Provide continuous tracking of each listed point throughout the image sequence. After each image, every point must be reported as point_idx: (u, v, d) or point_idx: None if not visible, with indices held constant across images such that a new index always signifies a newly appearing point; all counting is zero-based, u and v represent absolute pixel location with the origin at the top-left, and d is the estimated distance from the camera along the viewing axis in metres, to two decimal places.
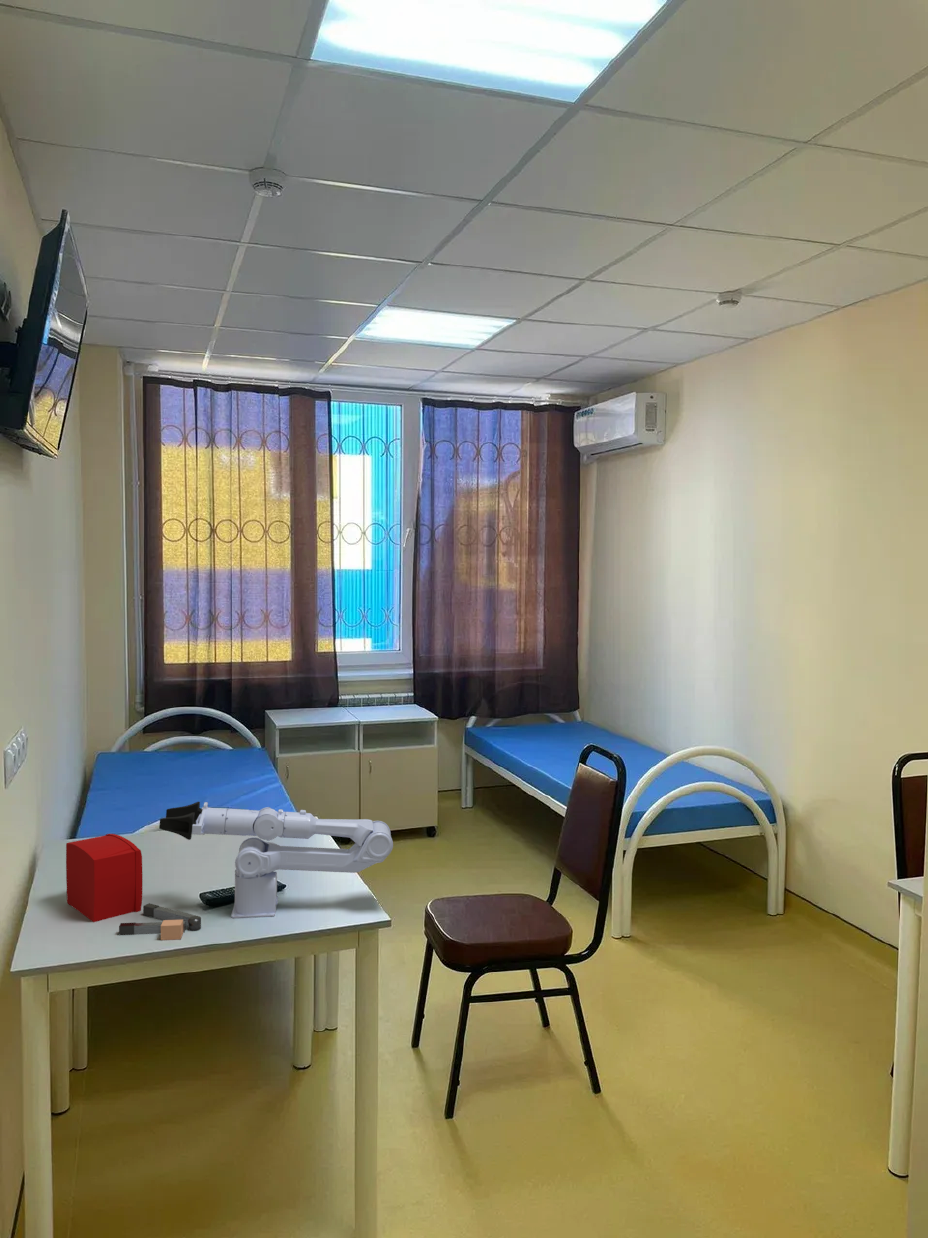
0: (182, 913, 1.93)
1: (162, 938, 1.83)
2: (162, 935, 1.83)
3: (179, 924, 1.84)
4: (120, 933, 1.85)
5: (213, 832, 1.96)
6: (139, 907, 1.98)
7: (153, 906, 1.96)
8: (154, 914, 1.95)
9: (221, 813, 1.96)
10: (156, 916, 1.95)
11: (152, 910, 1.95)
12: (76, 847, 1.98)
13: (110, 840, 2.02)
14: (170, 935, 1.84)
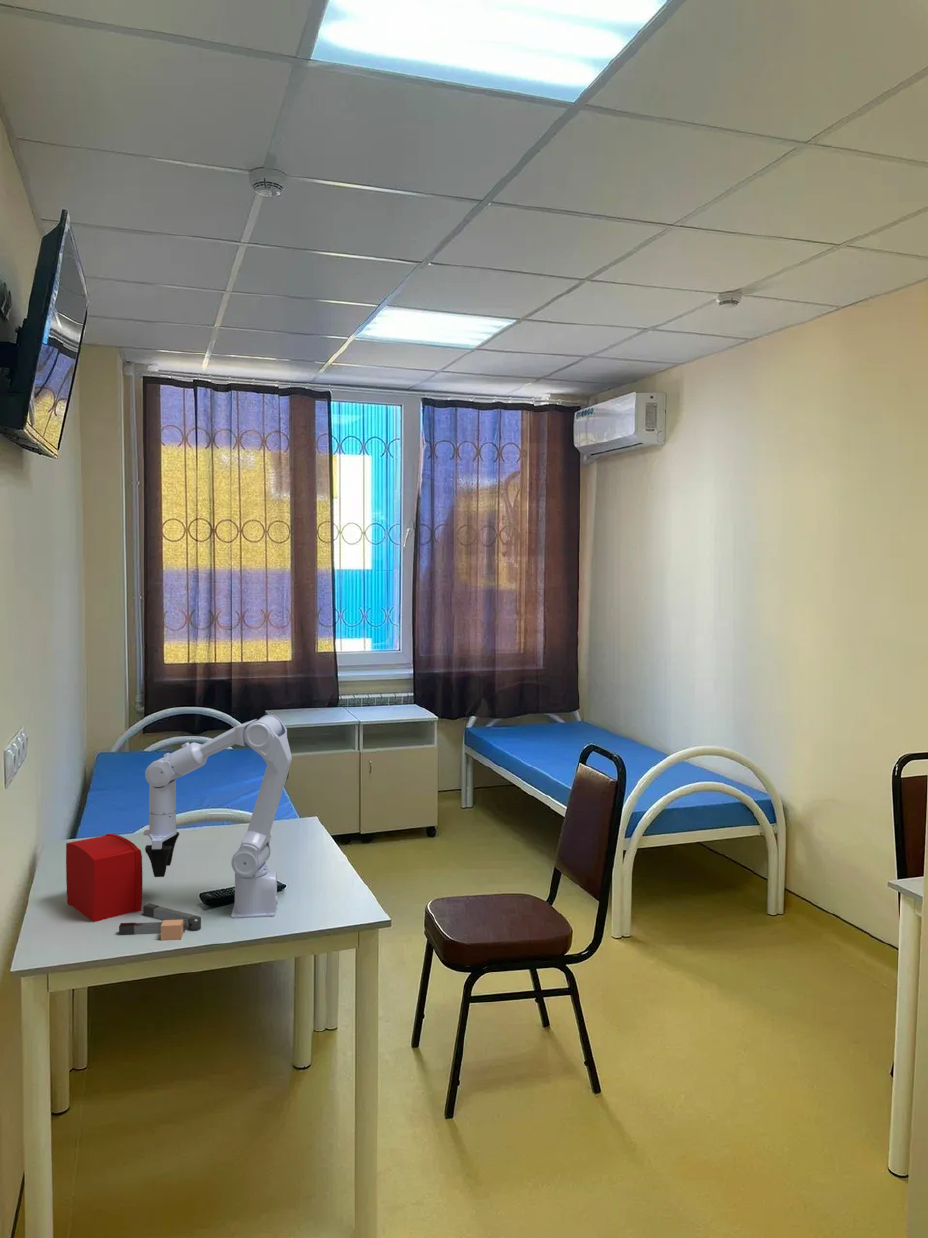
0: (182, 913, 1.93)
1: (162, 938, 1.83)
2: (162, 935, 1.83)
3: (179, 924, 1.84)
4: (120, 933, 1.85)
5: (169, 824, 1.99)
6: (139, 907, 1.98)
7: (153, 906, 1.96)
8: (154, 914, 1.95)
9: (150, 818, 1.98)
10: (156, 916, 1.95)
11: (152, 910, 1.95)
12: (76, 847, 1.98)
13: (110, 840, 2.02)
14: (170, 935, 1.84)
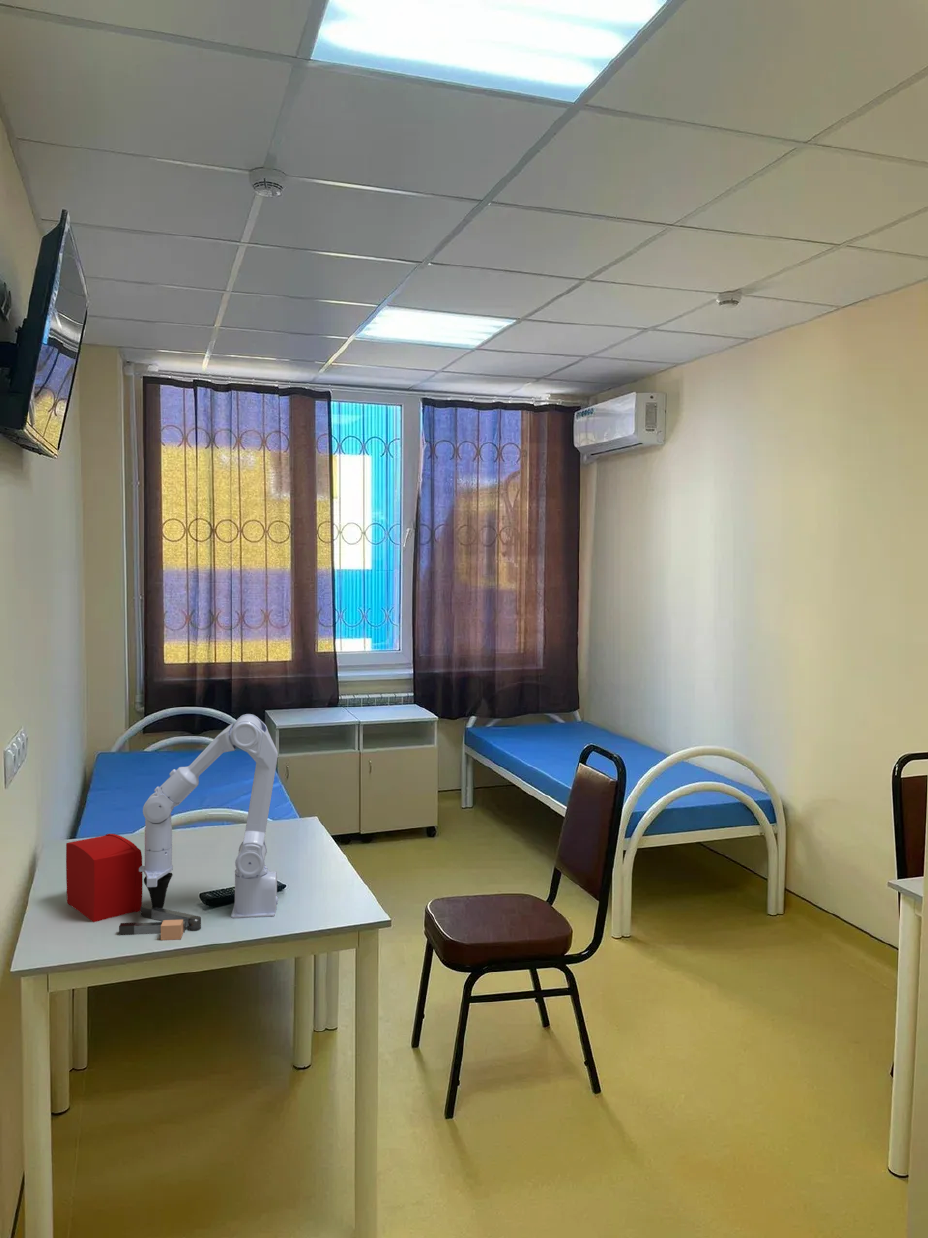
0: (181, 913, 1.92)
1: (162, 938, 1.83)
2: (162, 935, 1.83)
3: (179, 924, 1.84)
4: (120, 933, 1.85)
5: (165, 860, 1.94)
6: (139, 907, 1.98)
7: (151, 907, 1.96)
8: (152, 915, 1.94)
9: (145, 854, 1.94)
10: (154, 917, 1.94)
11: (149, 911, 1.95)
12: (76, 847, 1.98)
13: (110, 840, 2.02)
14: (170, 935, 1.84)
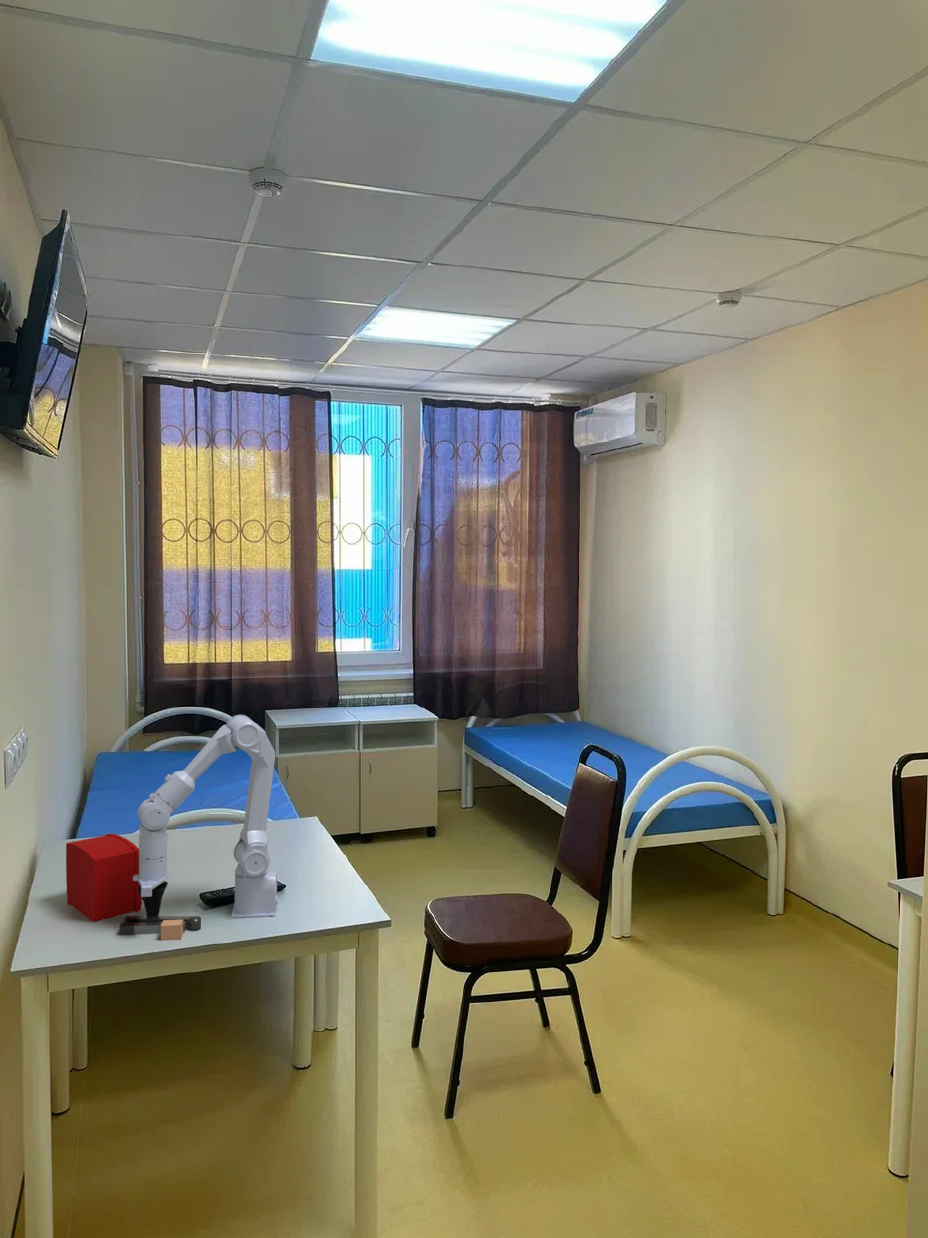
0: (174, 917, 1.90)
1: (162, 938, 1.83)
2: (162, 935, 1.83)
3: (179, 924, 1.84)
4: (120, 933, 1.85)
5: (160, 869, 1.89)
6: (139, 907, 1.98)
7: (134, 917, 1.90)
8: None
9: (140, 863, 1.88)
10: None
11: (135, 922, 1.89)
12: (76, 847, 1.98)
13: (110, 840, 2.02)
14: (170, 935, 1.84)
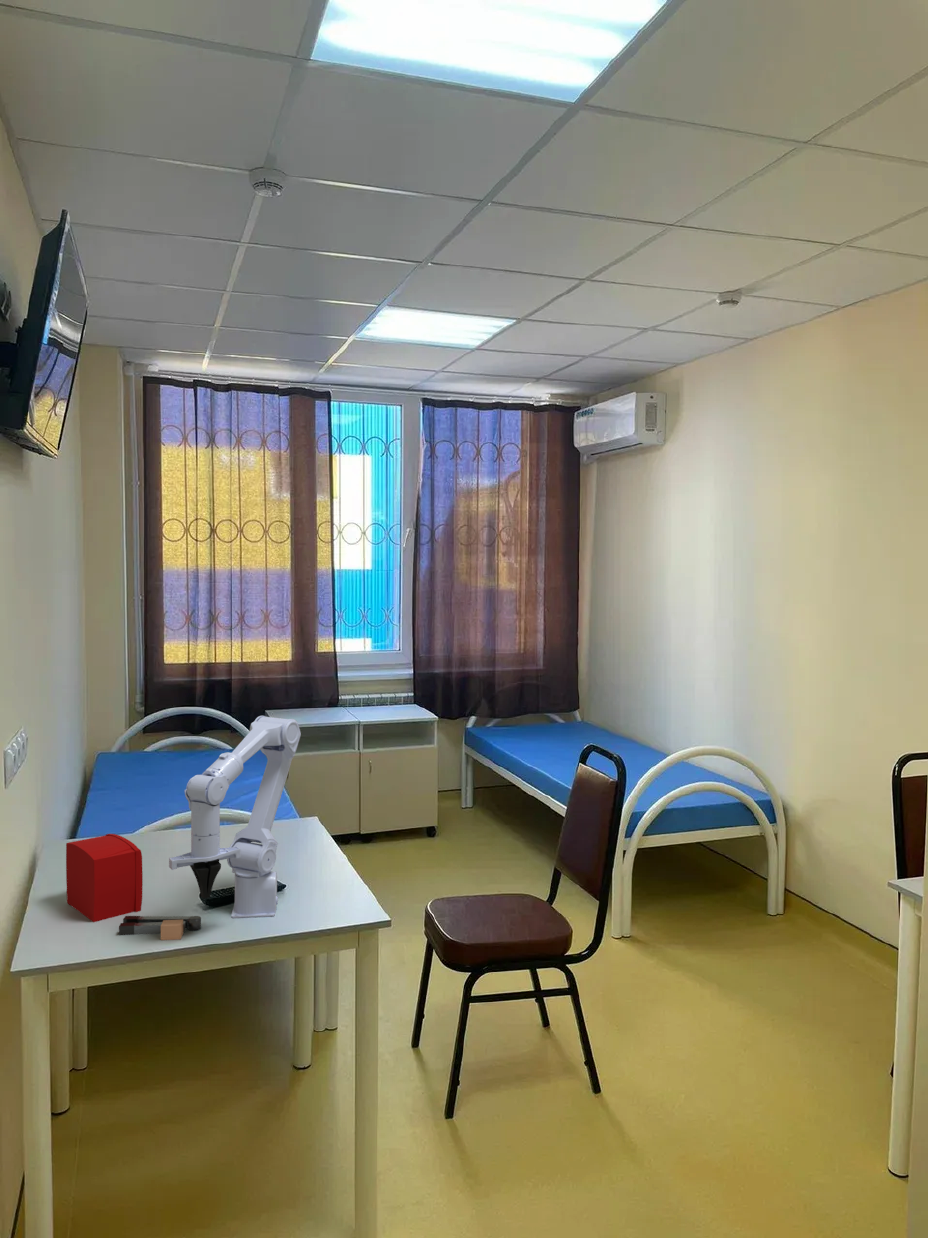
0: (174, 917, 1.90)
1: (162, 938, 1.83)
2: (162, 935, 1.83)
3: (179, 924, 1.84)
4: (120, 933, 1.85)
5: (198, 847, 1.83)
6: (139, 907, 1.98)
7: (134, 917, 1.90)
8: None
9: None
10: None
11: (135, 922, 1.89)
12: (76, 847, 1.98)
13: (110, 840, 2.02)
14: (170, 935, 1.84)
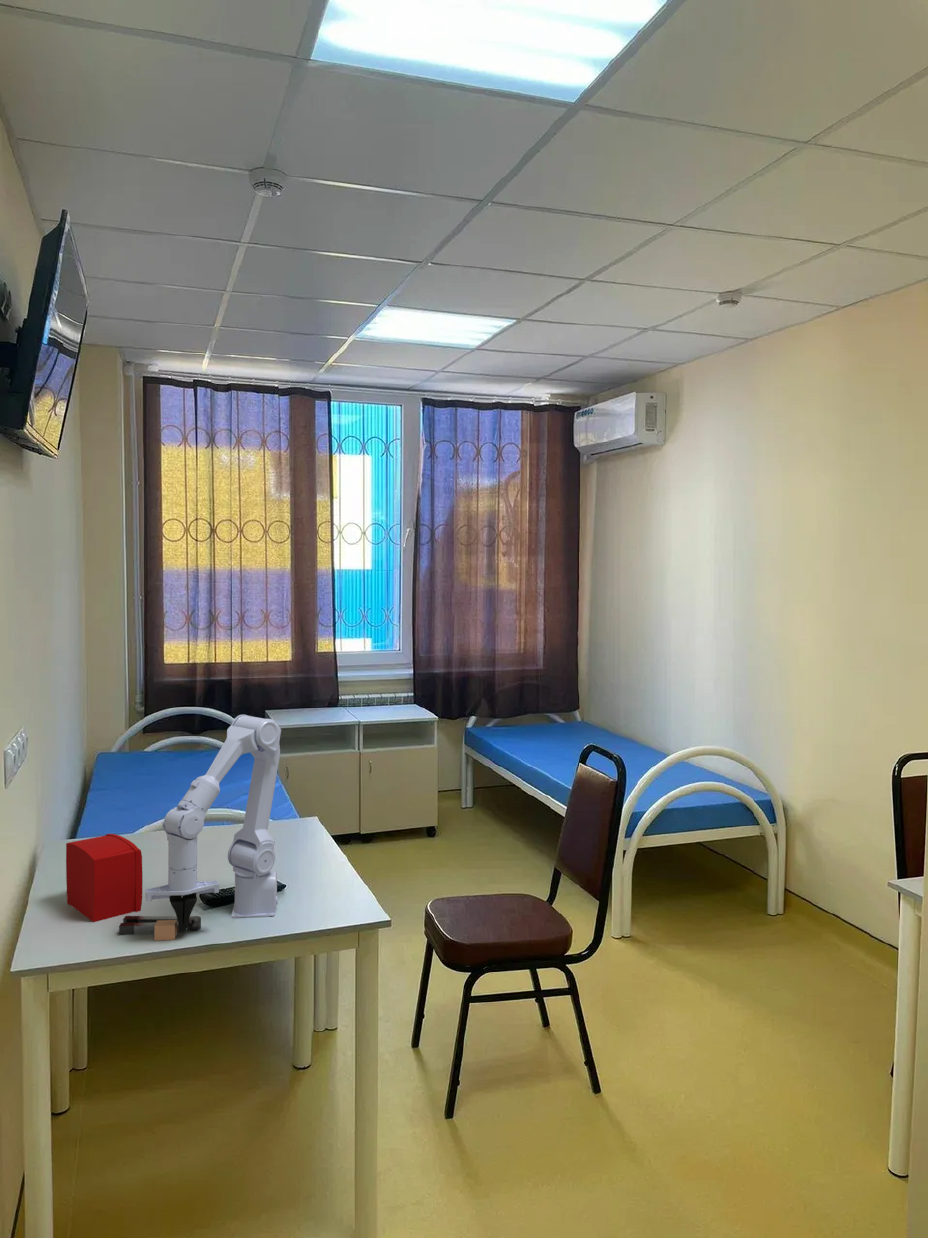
0: (174, 917, 1.90)
1: (156, 938, 1.83)
2: (156, 935, 1.83)
3: (173, 924, 1.84)
4: (120, 933, 1.85)
5: (173, 881, 1.82)
6: (139, 907, 1.98)
7: (134, 917, 1.90)
8: None
9: None
10: None
11: (135, 922, 1.89)
12: (76, 847, 1.98)
13: (110, 840, 2.02)
14: (164, 935, 1.83)
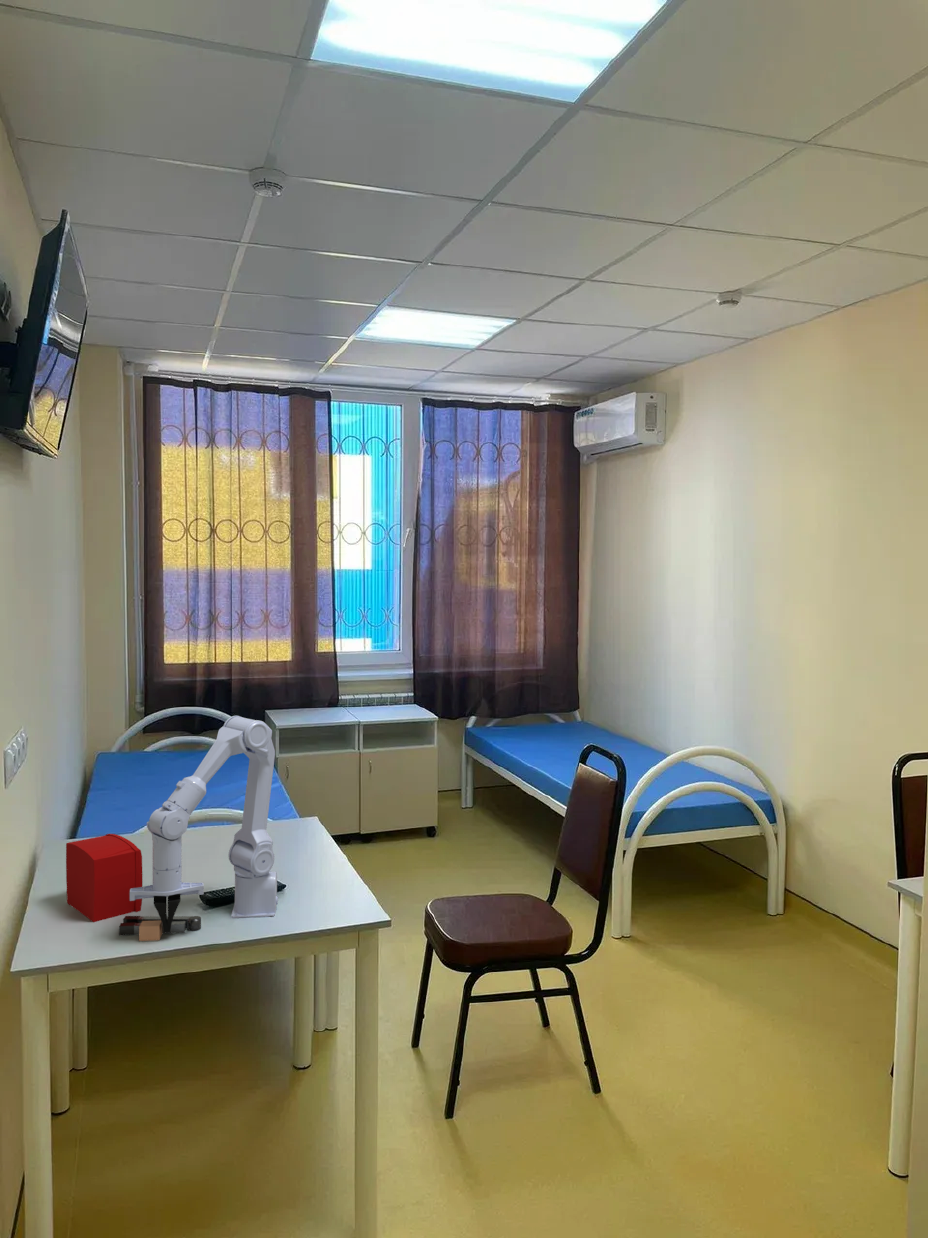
0: (174, 917, 1.90)
1: (141, 939, 1.83)
2: (140, 936, 1.83)
3: (158, 925, 1.84)
4: (120, 933, 1.85)
5: (156, 881, 1.82)
6: (139, 907, 1.98)
7: (134, 917, 1.90)
8: None
9: None
10: None
11: (135, 922, 1.89)
12: (76, 847, 1.98)
13: (110, 840, 2.02)
14: (149, 935, 1.83)
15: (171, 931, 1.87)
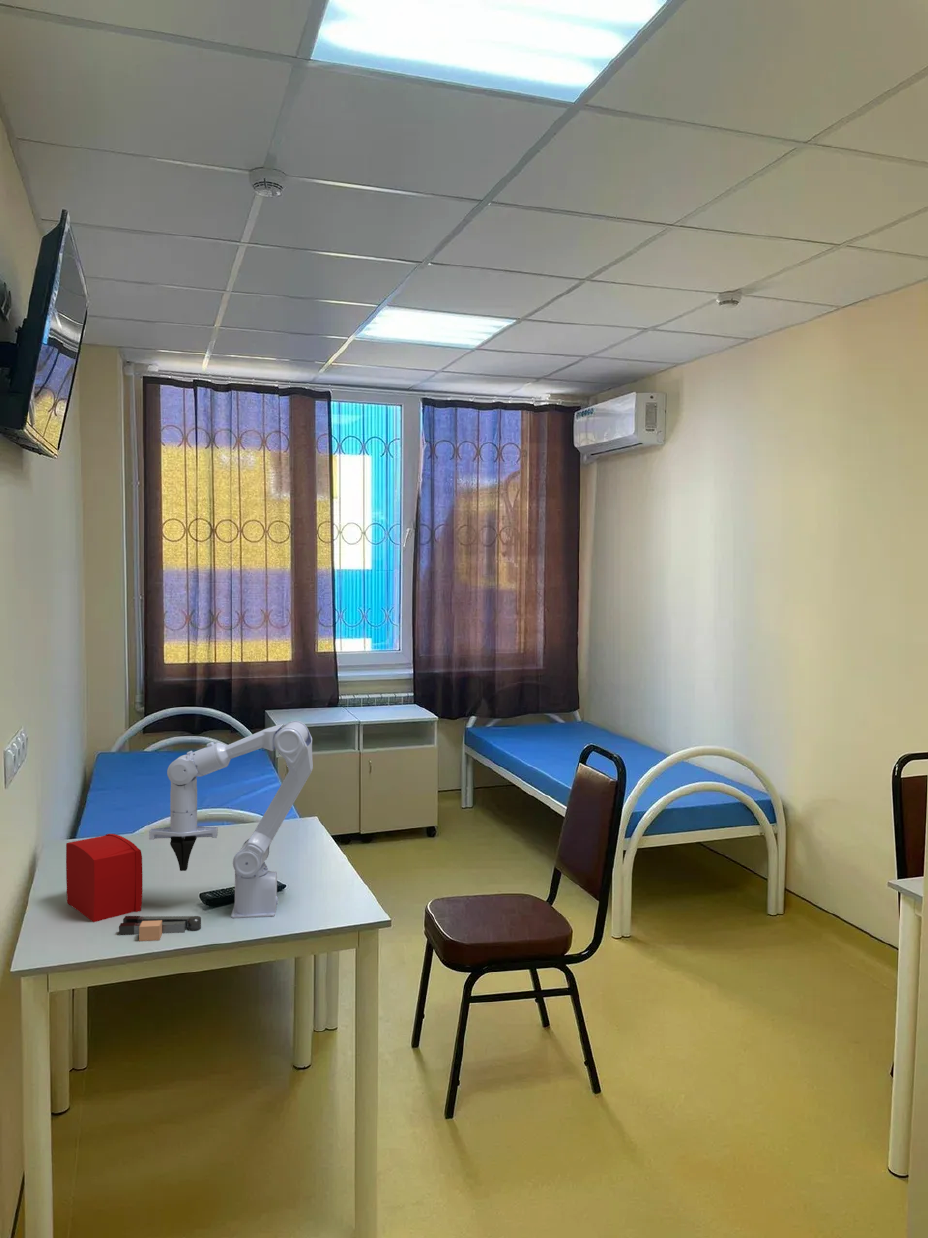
0: (174, 917, 1.90)
1: (140, 939, 1.83)
2: (140, 936, 1.83)
3: (158, 925, 1.84)
4: (120, 933, 1.85)
5: (172, 822, 1.97)
6: (139, 907, 1.98)
7: (134, 917, 1.90)
8: None
9: None
10: None
11: (135, 922, 1.89)
12: (76, 847, 1.98)
13: (110, 840, 2.02)
14: (149, 935, 1.83)
15: (171, 931, 1.87)
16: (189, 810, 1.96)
